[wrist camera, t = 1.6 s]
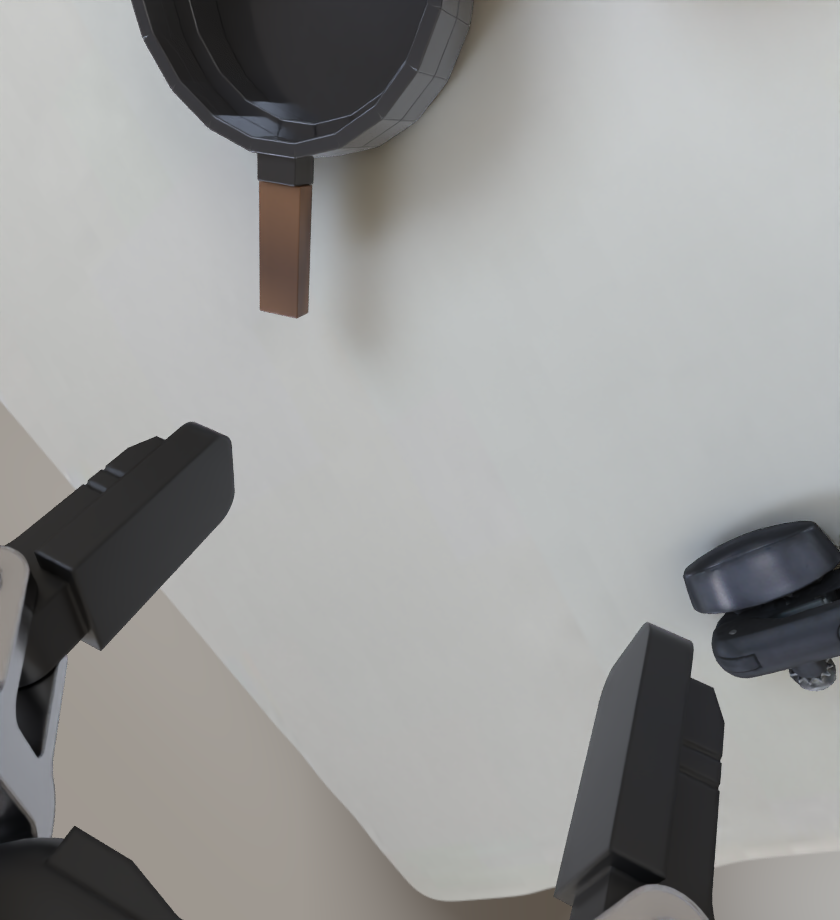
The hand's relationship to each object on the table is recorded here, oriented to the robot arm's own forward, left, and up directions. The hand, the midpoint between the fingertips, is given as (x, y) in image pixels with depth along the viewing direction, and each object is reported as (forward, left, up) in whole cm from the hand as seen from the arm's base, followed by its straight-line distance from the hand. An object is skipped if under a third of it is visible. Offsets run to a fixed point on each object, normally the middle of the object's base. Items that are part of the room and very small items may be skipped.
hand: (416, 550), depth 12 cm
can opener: (-18, +9, -22) cm, 30 cm away
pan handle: (+12, -1, -19) cm, 23 cm away
